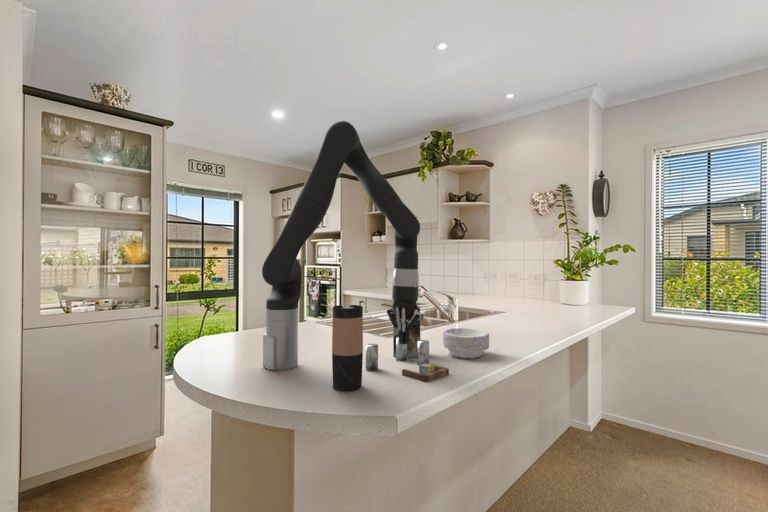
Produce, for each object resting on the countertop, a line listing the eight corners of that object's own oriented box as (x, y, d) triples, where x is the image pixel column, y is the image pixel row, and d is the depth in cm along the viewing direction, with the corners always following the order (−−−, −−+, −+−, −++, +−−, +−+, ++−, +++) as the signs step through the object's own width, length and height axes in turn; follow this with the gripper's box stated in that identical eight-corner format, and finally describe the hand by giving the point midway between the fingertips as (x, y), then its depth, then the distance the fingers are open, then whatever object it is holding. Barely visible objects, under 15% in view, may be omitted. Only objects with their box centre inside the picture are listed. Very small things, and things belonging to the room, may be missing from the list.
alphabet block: (418, 376, 103) (418, 364, 103) (425, 373, 106) (425, 362, 106) (428, 378, 101) (428, 367, 101) (434, 375, 104) (434, 364, 104)
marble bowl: (486, 363, 116) (486, 337, 117) (438, 358, 122) (438, 334, 122) (491, 352, 131) (491, 329, 131) (447, 348, 136) (447, 326, 136)
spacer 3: (424, 366, 112) (424, 342, 112) (414, 364, 115) (414, 341, 115) (431, 364, 115) (431, 341, 115) (422, 361, 117) (422, 339, 118)
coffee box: (420, 353, 129) (420, 306, 129) (420, 357, 122) (420, 308, 123) (394, 352, 130) (394, 305, 130) (392, 357, 123) (392, 307, 124)
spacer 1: (371, 371, 107) (371, 347, 107) (363, 369, 109) (363, 345, 109) (380, 369, 109) (380, 345, 109) (372, 366, 112) (372, 343, 112)
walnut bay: (426, 382, 98) (426, 376, 98) (402, 375, 104) (402, 369, 104) (448, 374, 105) (448, 368, 105) (424, 368, 111) (424, 362, 111)
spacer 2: (402, 361, 117) (402, 339, 117) (393, 359, 120) (393, 337, 120) (409, 359, 120) (409, 337, 120) (401, 357, 122) (401, 336, 122)
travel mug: (350, 394, 88) (350, 309, 89) (325, 388, 92) (325, 307, 93) (368, 385, 95) (369, 306, 95) (344, 380, 99) (345, 304, 99)
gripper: (380, 283, 112) (378, 341, 112) (414, 286, 102) (412, 350, 102) (397, 282, 117) (395, 338, 117) (431, 285, 108) (429, 346, 108)
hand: (403, 343), depth 110 cm, fingers closed
